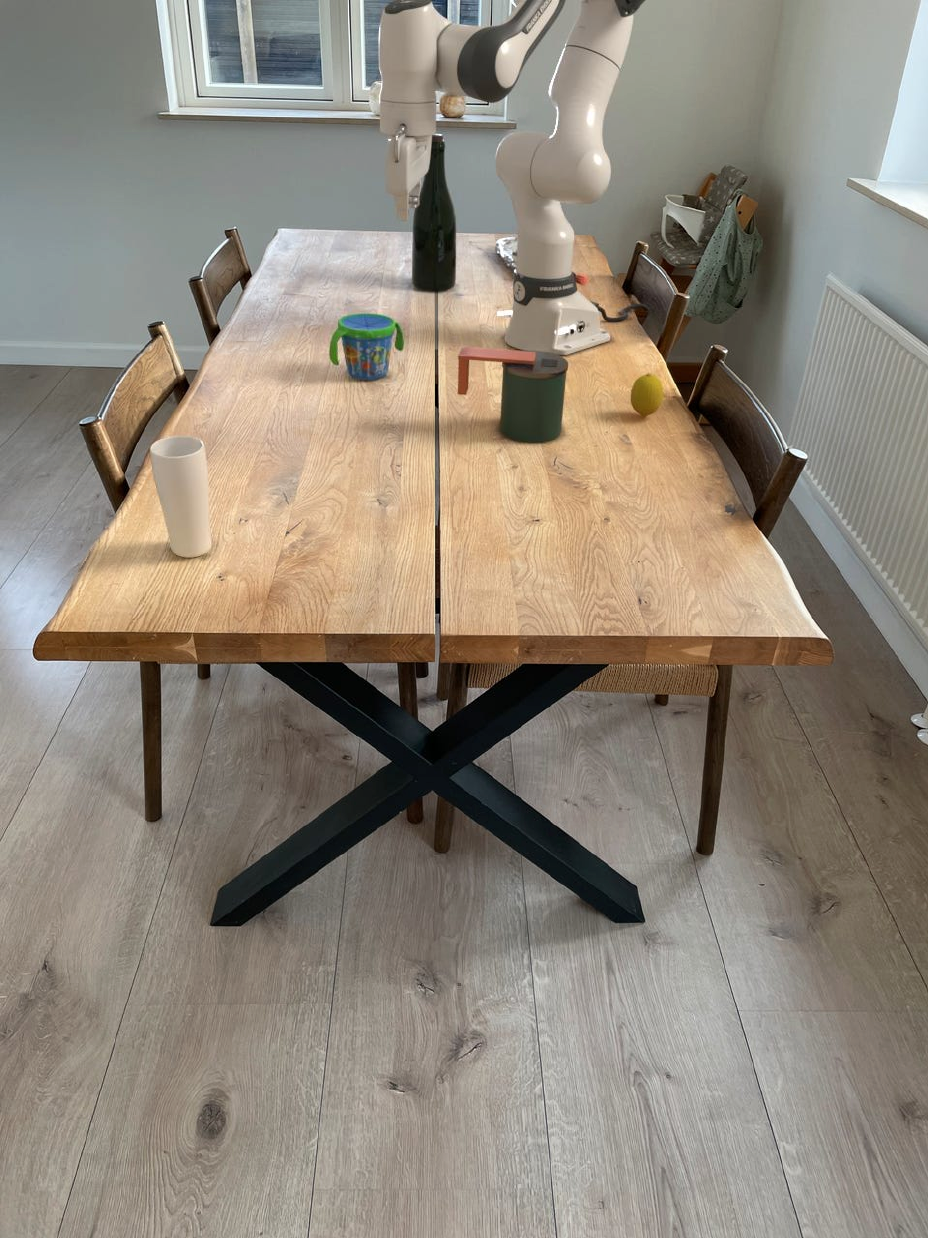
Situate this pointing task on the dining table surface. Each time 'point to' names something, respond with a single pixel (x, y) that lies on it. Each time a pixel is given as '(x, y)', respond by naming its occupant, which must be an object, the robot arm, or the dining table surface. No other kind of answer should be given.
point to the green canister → (533, 398)
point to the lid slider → (487, 355)
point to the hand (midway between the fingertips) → (408, 213)
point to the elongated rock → (508, 252)
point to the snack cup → (366, 344)
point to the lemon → (646, 395)
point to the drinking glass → (183, 493)
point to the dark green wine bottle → (434, 228)
